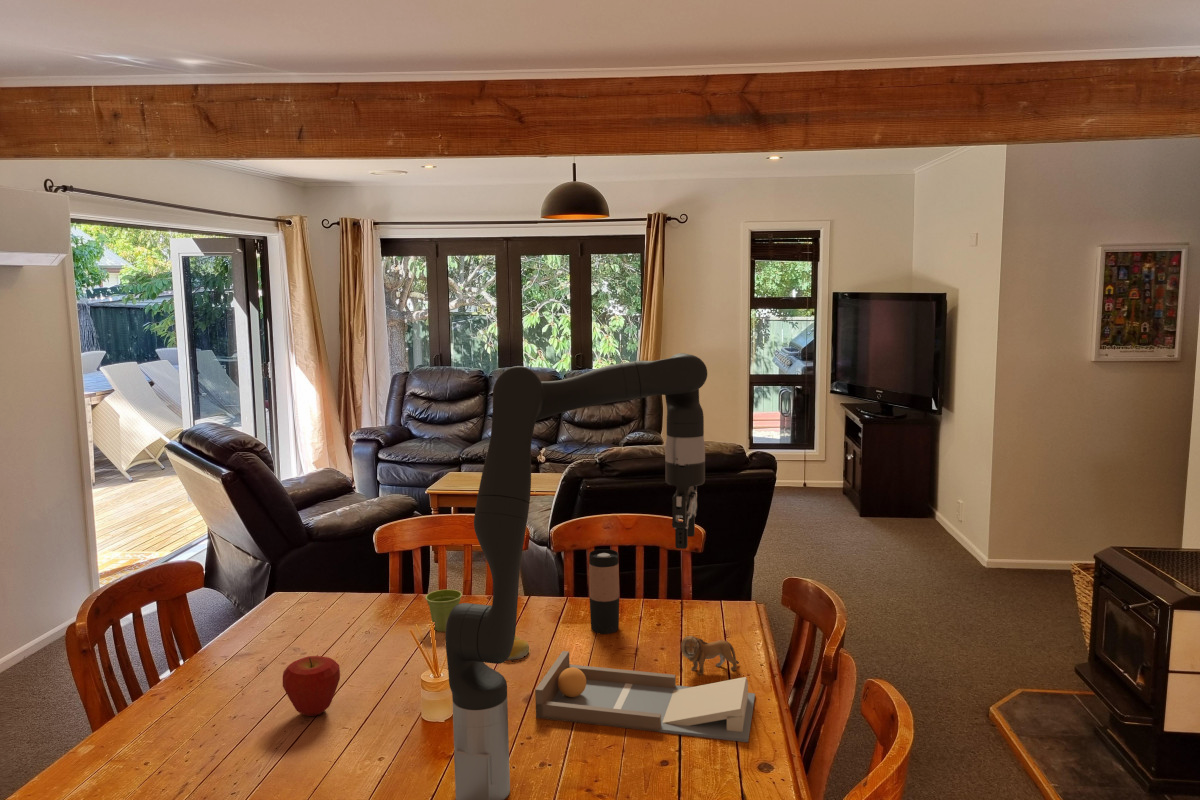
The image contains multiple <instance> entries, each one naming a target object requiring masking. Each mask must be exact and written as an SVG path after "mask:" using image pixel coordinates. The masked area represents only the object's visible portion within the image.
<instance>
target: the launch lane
mask: <svg viewBox="0 0 1200 800" xmlns="http://www.w3.org/2000/svg"><path fill="white" fill-rule="evenodd" d="M571 667H574V668H578V669H580V670H581V671H582V672H583V673H584V675H585V677H586V687H585V690H584V691H583V692H582V693H581V694H580V695H579V696H576V697H568V696H565V695H564V694H563V693H562V692H561V691H560V689H559V686H558V679H559V676H560V674H561V673H562V672H563V671H564V670H565V669H567V668H571ZM676 683H677V682H676V674H672V673H661V672H660V673H659V672H651V671H650V672H649V671H642V670H641V671H640V670H633V669H621V668H620V669H619V668H612V667H611V668H610V667H601V666H600V667H599V666H589V665H579V664H572V663H571V664H570V651H568V650H567V651H566V650H562V651H561V653H560V654H559V655H558V657H557V658H556V660H555V661H554V663H552V666H551V667H550V668H549V669H548V671H547V672H546V674H545V675H544V677H543V678H542V679H541V681H540V683H539V684H538V685H537V686H536V687H535V691H534V692H535V693H534V696H535V719H545V720H552V721H553V720H554V721H561V722H571V723H578V724H579V723H580V724H588V725H595V726H596V725H597V726H604V727H611V728H612V727H615V728H621V729H622V728H623V729H630V730H639V731H646V732H647V731H648V732H656V733H665V734H672V735H680V736H681V735H682V736H690V737H691V736H692V737H698V738H709V739H715V740H725V741H733V742H741V743H749V739H750V732H751V726H752V718H753V712H754V705H755V700H756V698H755V697H756V693H754V692H749V682H748V678H747V677H746V676H744V677H738V678H737V677H736V678H734V679H733V678H732V679H728V680H722V681H718V682H712V683H706V684H701V685H697V686H686V685H677V684H676Z"/></svg>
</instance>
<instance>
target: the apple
mask: <svg viewBox="0 0 1200 800" xmlns="http://www.w3.org/2000/svg"><path fill="white" fill-rule="evenodd" d="M340 679H341V669H340V664H339V663H338V662H337V661H336V660H334V659H333V658H331V657H328V656H323V655H322V656H321V655H309V656H306V657H302V658H299V659H297V660H295V661H292V662H291V663H289V665H288V666H287V667H286V668H285V669H284V670H283V672H282V687H283V689H284V691H285V693H286V696H287V697H288V699H289V701H290V703H291V704H292V705H293V707H294V708H295V710H296V711H297V712H298V713H300V714H301V715H303V716H306V717H317V716H319V715H321V714H322V713H324V712H325V711H326V710H327V709H328V708H330V706H331V704H332V702H333V699H334V696H335V693H336V691H337V688H338V685H339V682H340Z"/></svg>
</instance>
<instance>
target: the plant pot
mask: <svg viewBox="0 0 1200 800" xmlns="http://www.w3.org/2000/svg"><path fill="white" fill-rule="evenodd" d="M462 596H463V593H462V592H461V591H460V590H456V589H439V590H435V591H431V592H428V594H426V595H425V600H426V602H427V605H428V606H429V608H428V609H429V612H430V616H431V623H432V622H435V629H434V631H436V630H437V631H436V632H442V631H443V632H446V624H447V620H448V617H449V614H450V612H451V611H452V609H453V608H454V607H455V606H456V605H458V604H460V602H461V598H463V597H462Z"/></svg>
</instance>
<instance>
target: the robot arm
mask: <svg viewBox="0 0 1200 800" xmlns="http://www.w3.org/2000/svg"><path fill="white" fill-rule="evenodd" d="M707 378H708V369H707V366H706V363H705V362H704V361H703V360H702V359H701V358H700V357H698V356H696V355H694V354H689V353H685V352H684V353H683V352H681V353H676V354H673V355H672V356H671V357H669V358H663V359H657V360H634V361H627V362H620V363H614V364H610V365H605V366H602V367H598V368H596V369H593V370H590V371H587V372H584V373H581V374H579V375H576V376H573V377H572V376H571V377H569V378H564V379H560V380H558V379H557V380H551V381H549V380H548V381H542V380H541V379H540V377H539V376H538V375H537V374H536V373H535V372H534V371H533V370H532V369H530V368H529V367H527V366H523V365H517V366H516V365H515V366H511V367H509V368H507V369H505V370H504V371H503V372H502V373H501V374H500V375H499V376H498V378H497V379H496V380H495V383H494V384H493V387H492V388H493V389H492V417H491V430H490V438H489V444H488V447H487V453H486V455H485V459H484V465H483V469H482V473H481V477H480V483H479V487H478V492H477V498H476V502H475V503H476V504H475V510H474V518H473V528H474V529H473V530H474V532H475V536H476V538H477V540H478V543H479V546H480V548H481V550H482V553H483V555H484V557H485V559H486V562H487V564H488V567H489V571H490V572H491V573H490V574H491V579H492V604H490V605H489V604H479V603H467V602H464V603H463V602H462V603H459V604H458V605H456V606H455V607H454V608H453V609H452V611H451V612H450V614H449V617H448V620H447V624H446V631H445V633H444V635H445V641H444V642H445V652H446V661H447V670H448V671H447V674H448V675H447V676H448V684H449V688H450V691H451V694H452V695H451V696H452V723H453V747H454V749H453V750H454V752H453V753H454V754H453V760H454V761H453V762H454V785H455V787H454V789H455V800H505V799H507V798H508V796H509V795H510V792H511V783H510V782H511V776H510V748H509V747H510V746H509V745H510V742H509V741H510V740H509V718H508V717H509V715H508V714H509V709H508V708H509V707H508V706H509V705H508V703H509V702H508V683H507V680H506V678H505V677H504V675H503V674H502V673H500V672H499V671H497V670H495V669H493V668H492V667H490V666H488V665H487V664H499V665H500V664H503V663H505V662H506V661H508V660H507V659H508V658H509V656H510V653H511V651H512V648H513V644H514V639H515V636H516V630H517V619H518V618H517V616H518V615H517V614H518V602H519V586H520V584H519V583H520V572H521V564H522V555H523V547H524V543H525V536H526V531H527V525H528V518H529V510H530V502H531V491H532V453H531V452H532V443H533V442H532V441H533V436H534V430H535V426H536V422H537V421H540V420H543V419H545V418H549V417H553V416H555V415H559V414H561V413H566V412H569V411H573V410H579V409H583V408H587V407H592V406H593V407H594V406H599V405H603V404H610V403H615V402H616V403H617V402H624V401H631V400H636V399H643V398H648V397H652V396H665V397H664V398H665V404H666V439H665V447H664V448H665V451H664V453H665V454H664V455H665V456H664V458H665V460H664V461H665V468H664V469H665V474H664V475H665V476H664V477H665V483H666V484H667V485H670V486H675V487H676V491H675V493H674V494H673V496H672V497H671V500H672V509H671V510H672V513H671V515H672V516H671V517H672V519H671V520H672V522H671V527H672V528H674V532H675V535H674V536H675V538H674V539H675V544H674V545H675V548H676V549H681V550H684V549H685V550H686V549H687V548H688V546H689V545H688V544H689V543H688V542H689V540H688V539H689V538H688V537H694V536H695V533H696V532H695V531H696V530H695V529H696V527H695V525H696V524H695V523H696V522H695V521H696V520H695V519H696V516H697V512H698V508H699V507H698V486H702V485H704V484H705V481H706V445H705V435H704V432H705V431H704V430H705V429H704V427H705V425H704V424H705V422H704V421H705V420H704V409H703V407H702V406H701V402H700V389H701V388H702V387H703V386H704V385H705V383H706V381H707ZM679 519H682V521H681V520H680V521H679Z"/></svg>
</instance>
